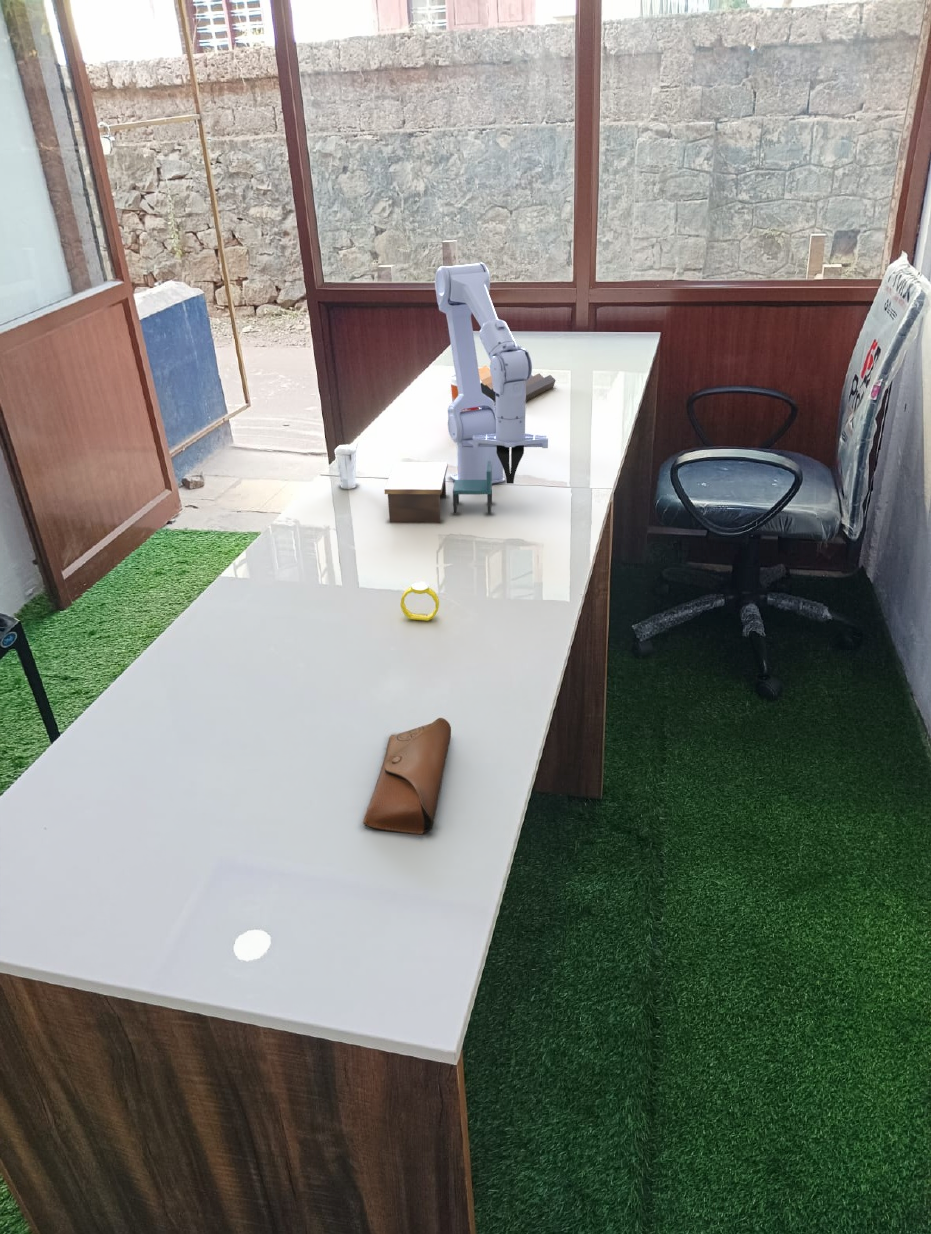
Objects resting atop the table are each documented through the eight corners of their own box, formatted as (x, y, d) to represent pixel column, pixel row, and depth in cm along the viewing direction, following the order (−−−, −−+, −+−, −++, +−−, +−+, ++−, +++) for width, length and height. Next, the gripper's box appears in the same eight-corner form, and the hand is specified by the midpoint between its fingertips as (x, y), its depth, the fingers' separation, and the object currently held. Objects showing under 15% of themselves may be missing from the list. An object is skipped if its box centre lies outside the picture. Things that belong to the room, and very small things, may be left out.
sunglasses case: (386, 732, 120) (410, 697, 116) (433, 756, 121) (458, 722, 118) (360, 828, 104) (386, 790, 101) (414, 854, 105) (442, 818, 102)
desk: (448, 495, 192) (447, 462, 189) (442, 524, 179) (441, 489, 176) (396, 494, 193) (394, 462, 189) (386, 523, 180) (384, 489, 176)
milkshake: (358, 491, 195) (355, 446, 190) (335, 489, 196) (330, 444, 191) (365, 483, 199) (361, 438, 194) (341, 482, 200) (337, 437, 195)
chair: (492, 502, 188) (491, 460, 183) (490, 514, 182) (490, 471, 178) (455, 502, 188) (454, 460, 184) (453, 514, 183) (452, 471, 178)
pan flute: (511, 410, 243) (555, 387, 261) (511, 397, 241) (555, 375, 260) (434, 397, 255) (481, 376, 273) (433, 385, 253) (480, 365, 271)
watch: (400, 622, 146) (398, 589, 143) (403, 613, 148) (401, 581, 145) (437, 623, 145) (436, 590, 142) (440, 615, 148) (438, 582, 145)
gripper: (471, 421, 172) (472, 489, 179) (548, 421, 171) (547, 489, 178) (473, 410, 178) (474, 476, 185) (548, 410, 177) (546, 476, 184)
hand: (510, 481), depth 182 cm, fingers closed
